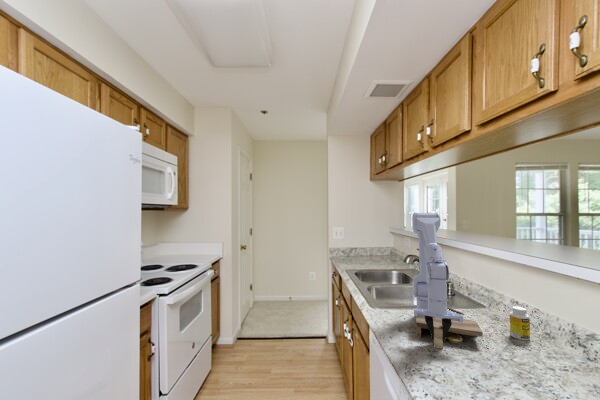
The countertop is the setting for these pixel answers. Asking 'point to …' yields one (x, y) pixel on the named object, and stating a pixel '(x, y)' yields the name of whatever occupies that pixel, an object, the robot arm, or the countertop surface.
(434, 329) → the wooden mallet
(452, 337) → the brass disc
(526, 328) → the supplement bottle
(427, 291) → the robot arm
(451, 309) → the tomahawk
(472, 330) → the low wooden bench
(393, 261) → the countertop surface
